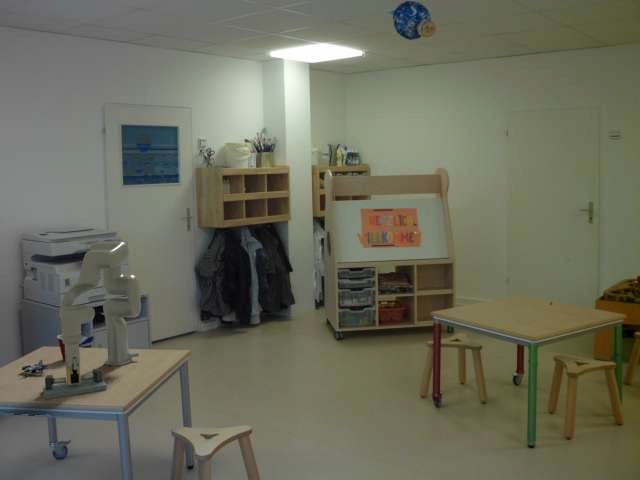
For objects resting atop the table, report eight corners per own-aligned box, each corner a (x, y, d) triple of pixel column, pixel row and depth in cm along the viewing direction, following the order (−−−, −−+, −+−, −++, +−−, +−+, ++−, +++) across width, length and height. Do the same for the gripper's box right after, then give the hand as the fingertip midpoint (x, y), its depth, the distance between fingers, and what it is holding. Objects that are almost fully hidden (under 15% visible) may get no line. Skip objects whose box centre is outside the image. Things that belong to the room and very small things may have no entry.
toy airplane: (17, 380, 303) (17, 372, 302) (17, 372, 315) (16, 364, 315) (49, 376, 308) (48, 368, 308) (47, 368, 321) (47, 361, 320)
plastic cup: (76, 362, 329) (75, 338, 328) (54, 362, 330) (53, 338, 328) (85, 356, 340) (83, 332, 339) (63, 356, 341) (62, 332, 339)
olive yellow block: (68, 384, 284) (67, 368, 284) (66, 382, 288) (66, 366, 287) (80, 383, 287) (79, 366, 286) (79, 380, 290) (78, 364, 289)
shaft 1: (45, 390, 283) (44, 378, 282) (47, 387, 287) (46, 375, 286) (65, 388, 284) (64, 376, 284) (66, 385, 288) (66, 373, 288)
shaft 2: (98, 379, 296) (98, 368, 295) (102, 381, 293) (102, 370, 292) (81, 383, 291) (80, 371, 290) (85, 385, 288) (84, 373, 287)
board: (102, 382, 298) (102, 377, 298) (106, 389, 288) (106, 384, 288) (43, 391, 287) (42, 386, 287) (45, 398, 278) (45, 394, 277)
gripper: (60, 335, 291) (62, 377, 293) (64, 344, 276) (67, 388, 278) (78, 333, 295) (81, 375, 297) (84, 341, 280) (86, 385, 282)
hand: (74, 381), depth 287 cm, fingers closed on olive yellow block, 4 cm apart
